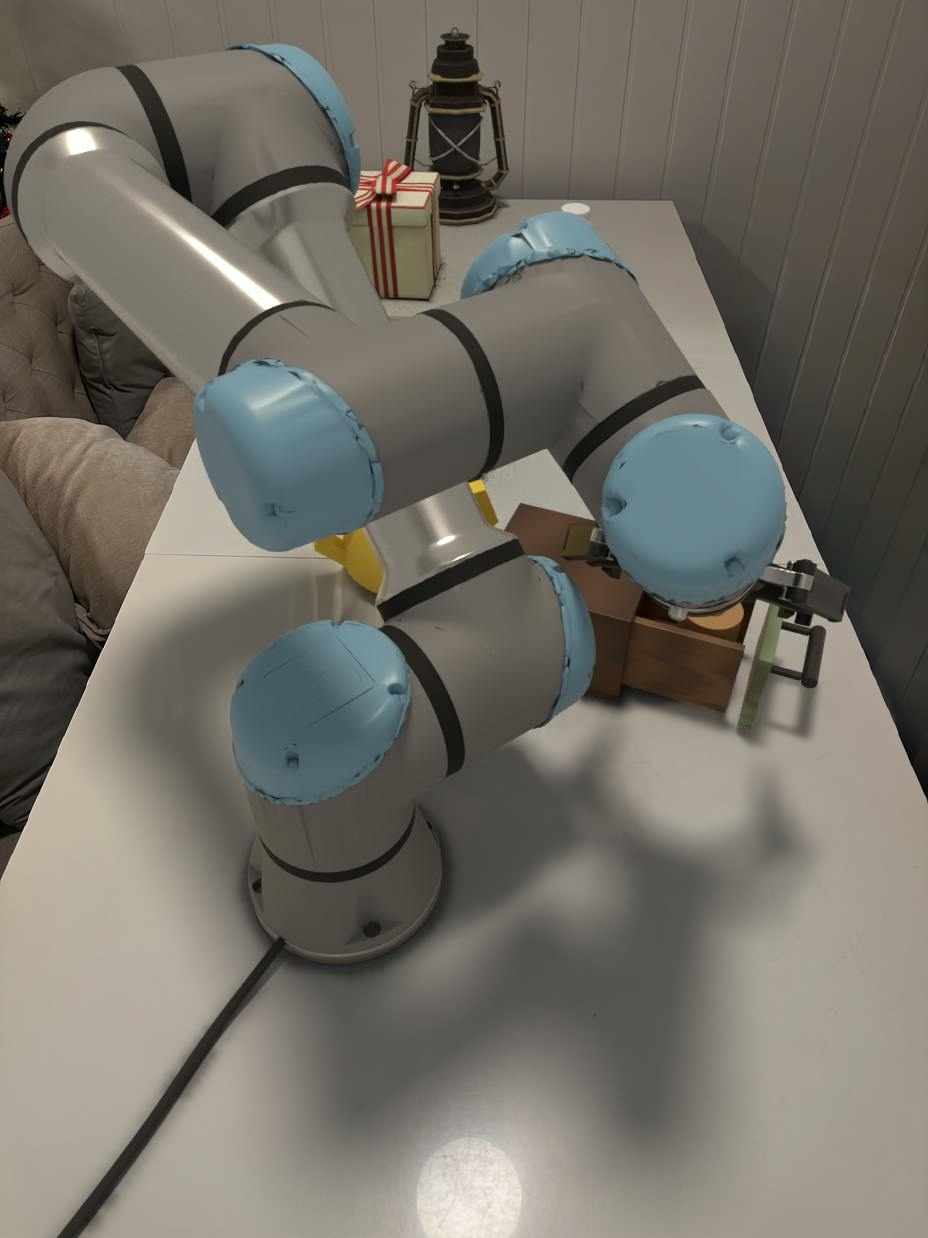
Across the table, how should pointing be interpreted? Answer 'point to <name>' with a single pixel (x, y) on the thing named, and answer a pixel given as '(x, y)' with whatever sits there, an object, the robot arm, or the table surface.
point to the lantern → (458, 132)
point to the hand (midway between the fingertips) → (700, 581)
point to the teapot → (360, 556)
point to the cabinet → (585, 592)
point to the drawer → (710, 659)
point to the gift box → (398, 230)
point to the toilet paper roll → (717, 624)
